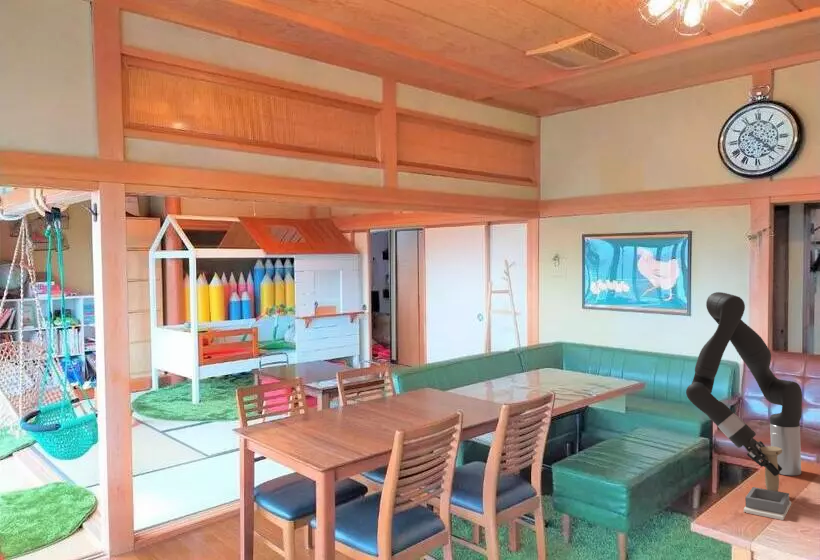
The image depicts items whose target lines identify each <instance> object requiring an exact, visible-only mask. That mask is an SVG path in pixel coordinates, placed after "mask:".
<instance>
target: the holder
mask: <svg viewBox="0 0 820 560" xmlns="http://www.w3.org/2000/svg"><path fill="white" fill-rule="evenodd" d="M791 506H792V500H790V493H789V492H784V491H779V490H778V491H773V490H767V488H766V489H765V488H760V487H755V486H753V487H751V489H750V490H749V491H748V493H747V494H746V496H745V506H744V508H743V513H745V512H746V514H751V515H755V516H760V517H765V518H769V519H770V518H771V519H776V520H780V521H784V519H785V518H786V516H787V513H788V511H789V509H790V508H791Z"/></svg>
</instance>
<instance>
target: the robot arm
mask: <svg viewBox="0 0 820 560" xmlns="http://www.w3.org/2000/svg"><path fill="white" fill-rule="evenodd" d="M705 305H706V309H707V312H708V314H709V315H710V316H711V317H712V319H713V320H714V322H716V323H717V324H718V326H717V327H716V330H715V332H714V333H713V335H712V336H711V337H710V338H709V339H708V341H707V342H705V344H704V345H703V346H702V348H701V349H700V352H699V354H698V357H697V359H696V364H695V366H694V376H693V379H692V382H691V384H689V385H688V386H687V387H686V390H685V391H686V392H685V394H686V398H687V399H688V400H689V401H690V403H692V404H693V406H695V407H696V408H697V409H698V410H700V411H701V412H702V413H704V414H705V415H706V416H707V417H708V418H709V419H710V420H711V422H712V423H714V424H715V425H716V426H717V427H718V429H719V430H720V431H721V432H722V433H723V434H724V435H725V437H727V439H728V440H730V441H731V443H733V445H734V446H736V447H737V448H738V449H740V448H742V447H744V448H745V450H746V451H747V453H746V456H748V457H749V458H750V459H751V460H752V461H754V462H755V463H756V464H757V465H758V466H760V467H762V468H763V467H764V468H765V467H766V468H767V469H768V470H769V471H770V472H771V473H772V474H773V475H774V476H776V475H778V474H780V475H785V476H800V475H801V474H802V453H801V451H802V450H801V429H800V428H801V427H800V426H801V419H802V416H803V415H802V414H803V413H802V411H803V409H802V408H803V405H802V404H803V391H802V387H801V386H800V384H799V383H797V382H795V381H792V380H786V379H779V378H777V377H776V376H775V375H774V373H773V371H772V370H771V368H770V365H771V360H772V353H771V350H770V349H769V347H768V345H767V344H766V342H765V340H764V339H763V338H762V337H761V336H760V334H758V333H757V332H756V331H755V330H754V329H753V328H751V326H749V325H748V324H747V323H746V322H744V321H743V320H742V318H743V316H744V314H745V309H746V306H745V305H746V304H745V301H744V300H743V298H741V297H740V296H737V295H734V294H730V293H727V292H720V291H718V292H717V291H716V292H714V293H711V294H710V295H709V296H708V297H707V298H706V304H705ZM729 342H730V343H731V344H732V346H733V347H734V348H735V350H736V352H737V353H738V356H740V358H741V359H742V361H743V362H744V363H745V365H746V366H747V368H748V369H749V371H750V373H751V374H752V376H753V377H754V379H755V381H756V383H757V385H758V387H759V389H760V391H761V393H762V395H763V397H764V398H765V399H766V401H768V402H769V403H771V404H773V405H779V406H781V412H780V413H773V414H771V415H770V416H769V429H770V430H769V432H770V435H769V436H770V446H774V447H779V448H781V449H782V453H781V454H780V455H778V456H777V462H778V469H777V468H776V467H775V466H774V465H773V464H772V463H771V462H770V461H769V460H768V458H767V457H766V455H765V454H763V453H762V451H761V449H760V448H761V447H766V445H765V444H764V442H763V441H761V440H759V441H757V440H756V439H755V436H757V434H756V432H755V431H754V430H753V429H752V427H750V426H749V425H748V424H747V423H746V422H745V421H744V420H743V419H742V418H741V417H740V416H738V415H736V413H734V412H733V410H731V409H730V408H729V407H728V406H727V405H726V404H725V403H724V402H722V401H720V400H718V398H716V397H715V396H714V395H713V394H712V392H713V389H714V383H715V378H716V375H717V373H718V371H719V367H720V364H721V362H722V359H723V355H724V352H725V350H726V348H727V346H728V344H729Z"/></svg>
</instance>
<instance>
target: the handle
mask: <svg viewBox="0 0 820 560" xmlns="http://www.w3.org/2000/svg"><path fill="white" fill-rule="evenodd" d="M765 446H766V445H765ZM760 449H761V451H762V453H763V454H765V455H766V457H767V458H768V460H769V461H770V462H771V463H772V464H773V465H774V466H775V467H776V468H777V469H778V462H777V456H778V455H780V454H781V453H782V449H781V448H779V447H774V446H771V445H770V446H769V445H768V446H766V447H761V448H760ZM764 468H765V469H764V483H765V488H766V489H767V490H773V491H778V492H779V487H780V476H779V474H778V475H776V476H774V475H773V474H772V473H771V472H770V471H769V470H768V469H767V468H766V467H764Z"/></svg>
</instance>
